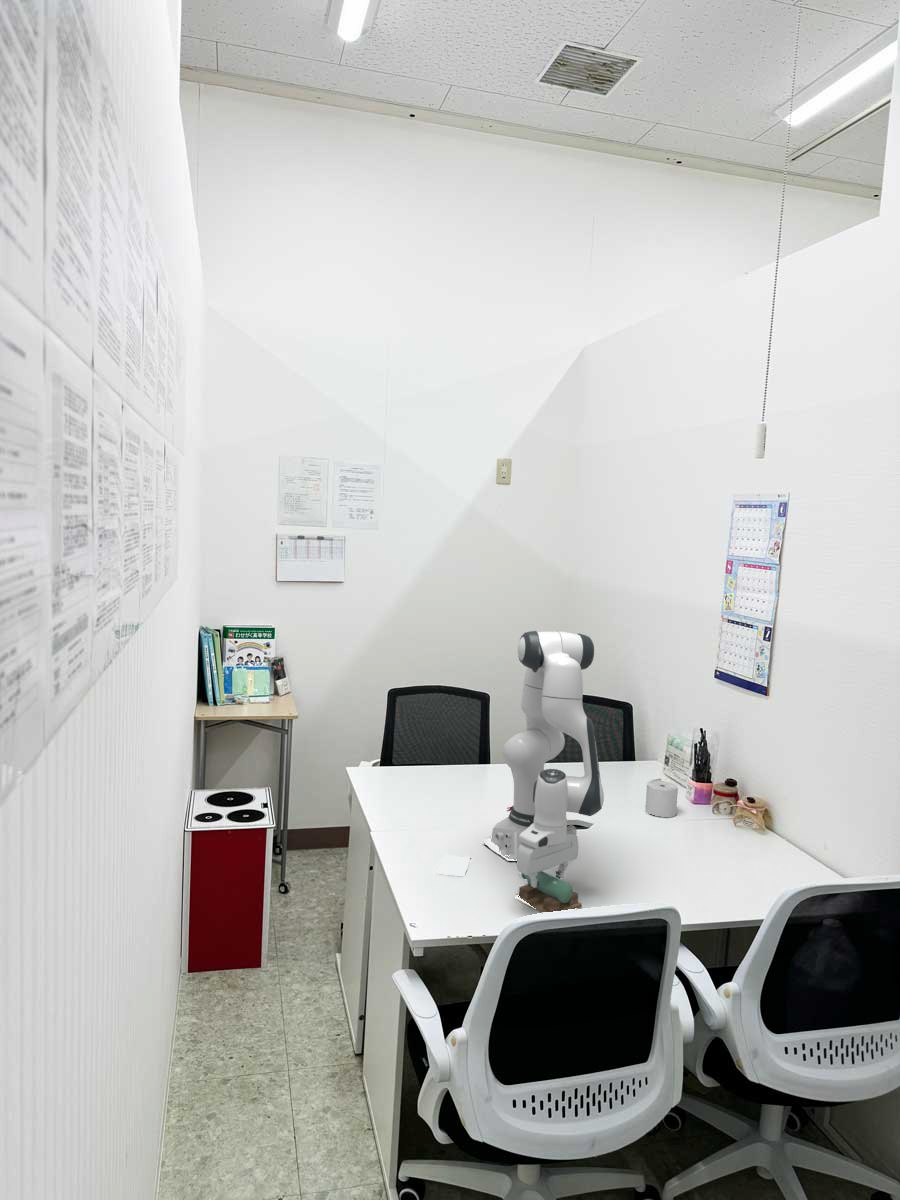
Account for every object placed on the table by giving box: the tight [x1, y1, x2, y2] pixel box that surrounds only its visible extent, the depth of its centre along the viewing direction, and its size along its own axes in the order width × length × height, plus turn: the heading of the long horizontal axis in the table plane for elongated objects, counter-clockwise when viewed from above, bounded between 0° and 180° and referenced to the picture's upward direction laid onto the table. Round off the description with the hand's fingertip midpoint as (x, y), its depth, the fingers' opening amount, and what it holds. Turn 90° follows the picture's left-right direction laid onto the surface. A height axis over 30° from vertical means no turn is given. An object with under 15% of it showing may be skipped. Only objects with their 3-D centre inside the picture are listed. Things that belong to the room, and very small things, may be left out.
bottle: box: [520, 870, 574, 903], centre depth 224 cm, size 15×5×5 cm, turn 40°
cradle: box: [518, 883, 583, 913], centre depth 223 cm, size 14×11×4 cm
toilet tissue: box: [645, 778, 679, 818], centre depth 296 cm, size 11×12×10 cm
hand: (547, 881), depth 223 cm, fingers open, 8 cm apart
